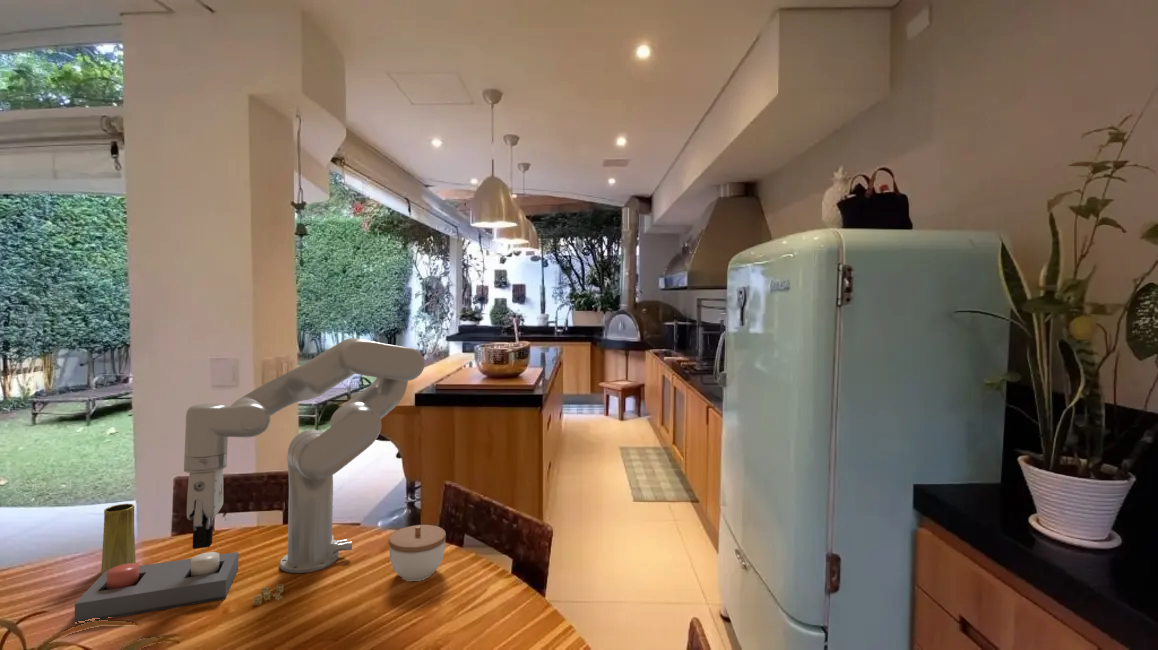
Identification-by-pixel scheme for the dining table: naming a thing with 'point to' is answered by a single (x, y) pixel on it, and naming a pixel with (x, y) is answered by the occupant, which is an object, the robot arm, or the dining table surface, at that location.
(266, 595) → the dice set
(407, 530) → the lidded bowl
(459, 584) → the dining table surface
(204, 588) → the button panel
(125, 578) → the red button
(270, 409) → the robot arm
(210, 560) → the ivory button
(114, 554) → the vase
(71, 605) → the dining table surface
